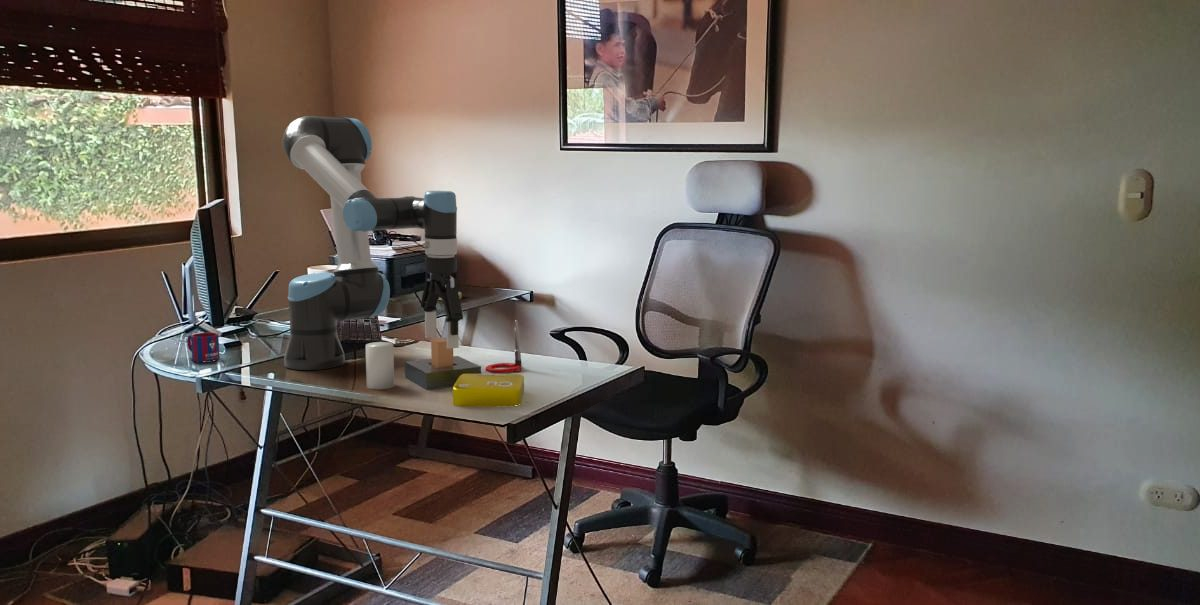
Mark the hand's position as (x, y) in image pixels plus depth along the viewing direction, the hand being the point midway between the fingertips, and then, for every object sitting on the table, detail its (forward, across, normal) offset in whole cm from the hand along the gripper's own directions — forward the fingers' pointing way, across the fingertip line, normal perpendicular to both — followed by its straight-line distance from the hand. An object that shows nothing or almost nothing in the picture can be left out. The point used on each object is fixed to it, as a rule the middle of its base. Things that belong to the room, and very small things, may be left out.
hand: (441, 342), depth 225 cm
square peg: (+9, 0, 0) cm, 9 cm away
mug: (+10, -54, -46) cm, 71 cm away
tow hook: (+10, -2, +18) cm, 21 cm away
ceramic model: (+11, -123, +52) cm, 134 cm away
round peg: (+9, -2, -15) cm, 18 cm away
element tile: (+10, +21, +3) cm, 24 cm away
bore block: (+9, 0, 0) cm, 9 cm away
